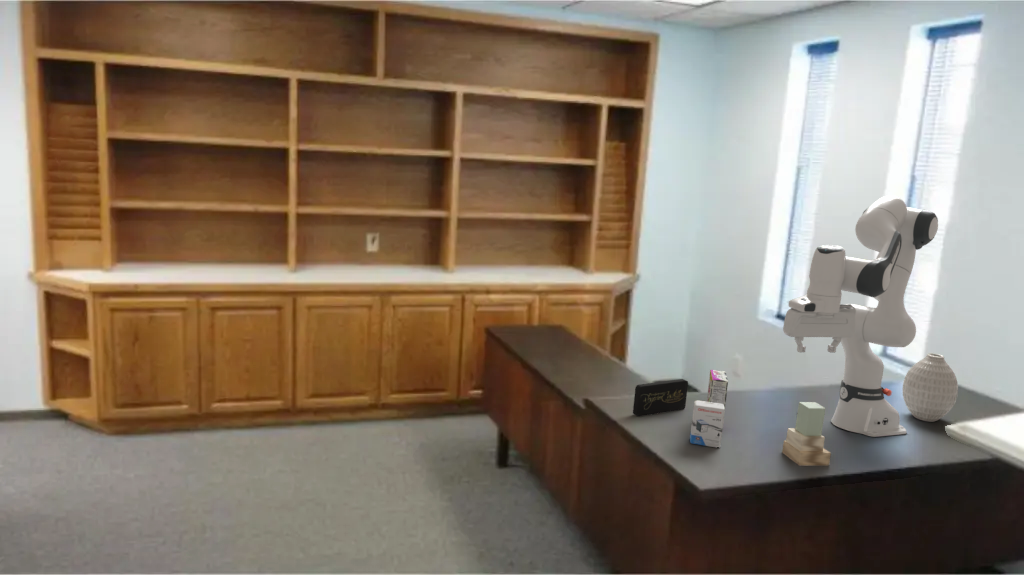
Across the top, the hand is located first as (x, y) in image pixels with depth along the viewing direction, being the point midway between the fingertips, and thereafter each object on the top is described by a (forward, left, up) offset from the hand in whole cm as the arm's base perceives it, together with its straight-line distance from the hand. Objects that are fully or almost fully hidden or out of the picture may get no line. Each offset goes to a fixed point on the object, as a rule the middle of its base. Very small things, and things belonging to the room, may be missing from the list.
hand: (816, 352), depth 207 cm
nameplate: (+31, -33, -30) cm, 54 cm away
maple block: (+2, +4, -26) cm, 27 cm away
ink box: (+27, -7, -30) cm, 41 cm away
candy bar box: (+18, -21, -30) cm, 41 cm away
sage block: (+2, +4, -22) cm, 23 cm away
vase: (-63, -29, -30) cm, 76 cm away
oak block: (+2, +5, -30) cm, 31 cm away
